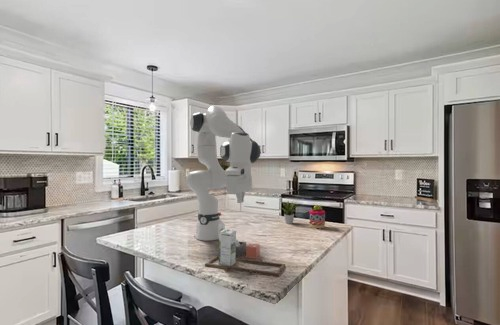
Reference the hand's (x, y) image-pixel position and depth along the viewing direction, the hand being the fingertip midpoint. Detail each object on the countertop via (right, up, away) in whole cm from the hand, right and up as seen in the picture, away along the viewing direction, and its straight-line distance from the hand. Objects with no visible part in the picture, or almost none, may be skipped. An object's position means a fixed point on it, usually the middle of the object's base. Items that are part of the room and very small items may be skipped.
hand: (240, 202), depth 119 cm
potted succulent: (+49, -27, +69) cm, 89 cm away
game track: (+2, -27, -1) cm, 27 cm away
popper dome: (-4, -25, +16) cm, 30 cm away
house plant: (+32, -26, +80) cm, 90 cm away
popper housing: (-4, -27, +16) cm, 32 cm away
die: (+5, -27, +12) cm, 30 cm away
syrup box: (-6, -27, +2) cm, 28 cm away
